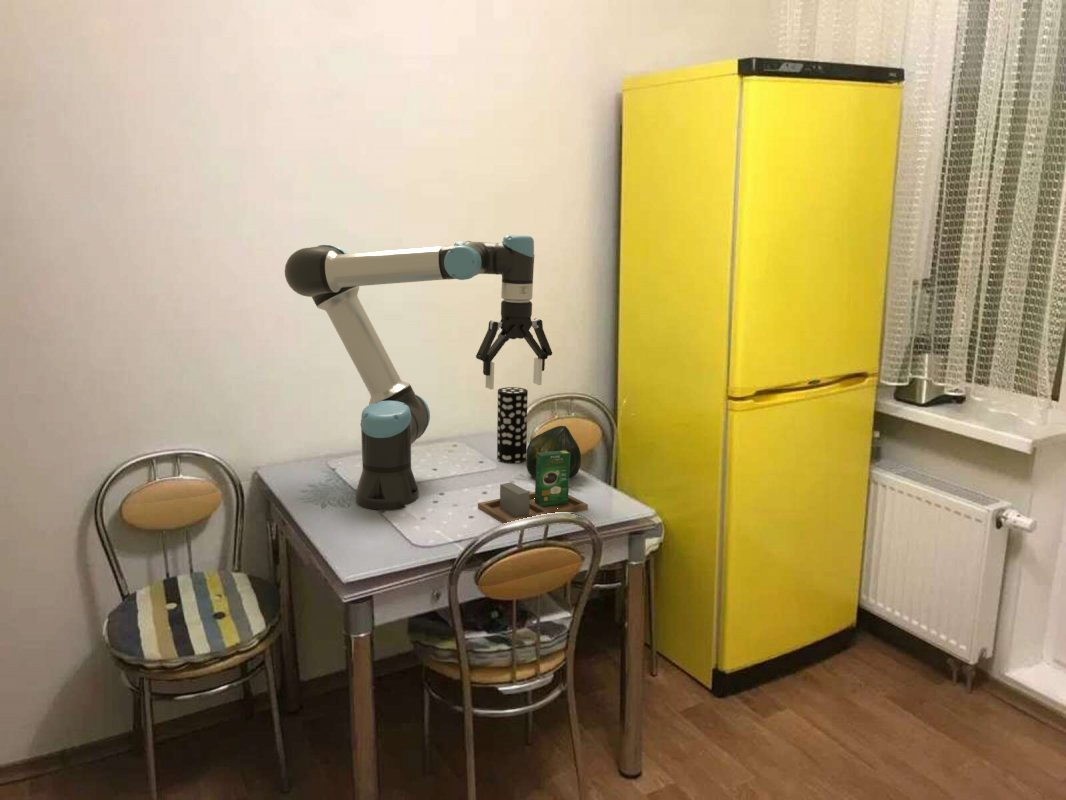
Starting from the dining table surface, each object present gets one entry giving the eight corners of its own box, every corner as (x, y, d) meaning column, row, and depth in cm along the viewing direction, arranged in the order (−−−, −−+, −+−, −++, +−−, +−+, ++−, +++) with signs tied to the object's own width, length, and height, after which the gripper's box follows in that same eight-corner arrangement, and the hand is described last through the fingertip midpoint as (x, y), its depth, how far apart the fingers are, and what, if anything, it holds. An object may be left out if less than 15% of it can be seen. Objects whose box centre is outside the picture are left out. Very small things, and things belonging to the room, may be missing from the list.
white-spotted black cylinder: (492, 456, 246) (493, 388, 241) (519, 453, 250) (520, 386, 245) (504, 464, 239) (504, 394, 234) (531, 461, 242) (532, 392, 238)
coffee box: (564, 500, 209) (565, 448, 206) (569, 504, 207) (571, 451, 204) (534, 504, 206) (535, 452, 203) (539, 508, 204) (540, 455, 201)
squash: (506, 455, 229) (537, 421, 220) (543, 446, 240) (573, 413, 231) (535, 499, 224) (567, 465, 215) (570, 487, 235) (602, 455, 227)
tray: (509, 530, 192) (509, 521, 192) (477, 511, 203) (477, 503, 203) (587, 512, 204) (587, 504, 203) (553, 495, 215) (554, 487, 215)
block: (518, 519, 197) (518, 494, 195) (499, 508, 203) (500, 484, 202) (529, 516, 198) (529, 492, 197) (510, 506, 205) (511, 482, 203)
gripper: (478, 303, 198) (475, 393, 203) (568, 300, 211) (564, 385, 216) (463, 299, 204) (461, 386, 209) (552, 297, 217) (548, 379, 222)
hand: (513, 386), depth 212 cm, fingers open, 13 cm apart
